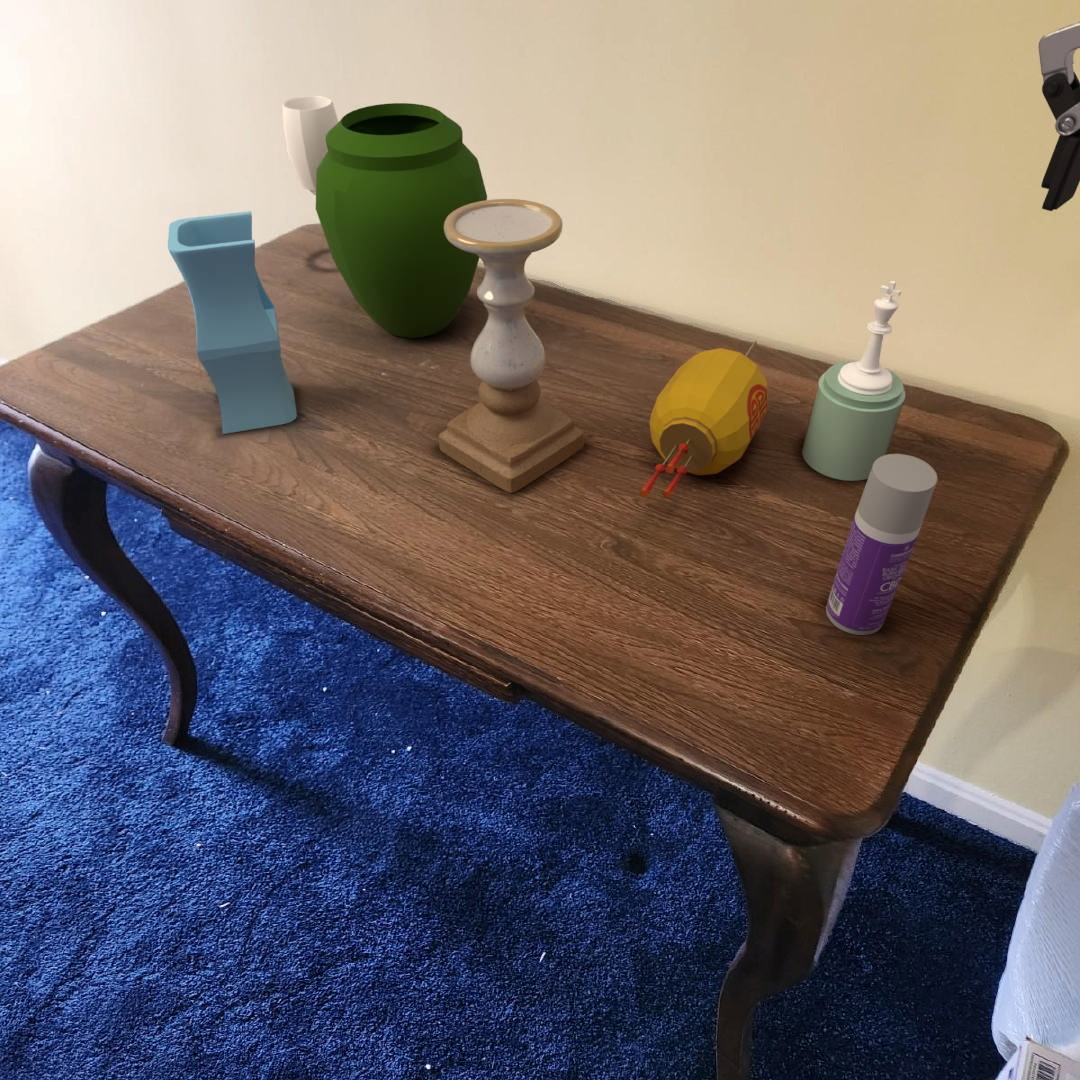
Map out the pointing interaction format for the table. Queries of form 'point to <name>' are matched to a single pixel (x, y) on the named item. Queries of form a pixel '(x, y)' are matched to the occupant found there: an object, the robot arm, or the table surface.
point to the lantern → (707, 414)
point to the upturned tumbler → (850, 427)
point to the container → (880, 542)
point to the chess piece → (873, 351)
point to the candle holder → (507, 351)
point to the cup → (307, 135)
